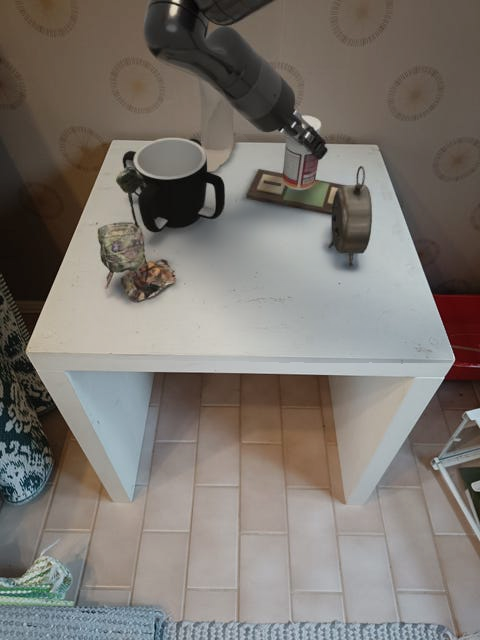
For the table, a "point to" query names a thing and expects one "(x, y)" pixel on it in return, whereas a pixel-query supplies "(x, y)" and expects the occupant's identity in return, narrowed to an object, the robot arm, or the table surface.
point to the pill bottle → (300, 161)
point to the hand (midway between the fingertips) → (310, 144)
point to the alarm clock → (351, 218)
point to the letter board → (293, 193)
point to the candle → (215, 126)
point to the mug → (174, 183)
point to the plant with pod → (132, 249)
